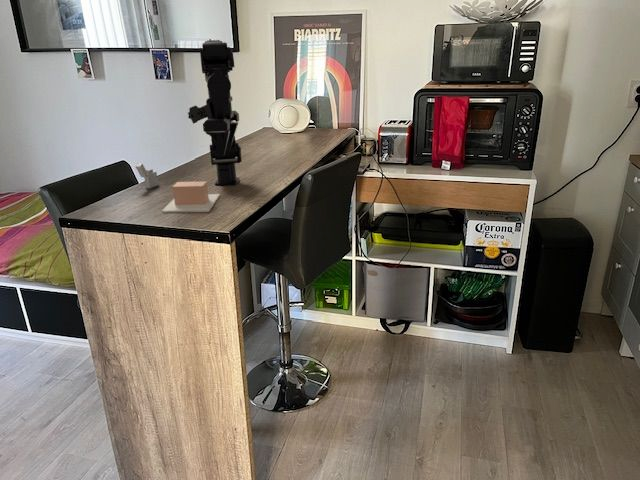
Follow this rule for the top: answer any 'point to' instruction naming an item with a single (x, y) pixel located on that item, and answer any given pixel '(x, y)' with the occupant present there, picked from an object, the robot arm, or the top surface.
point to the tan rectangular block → (190, 193)
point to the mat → (192, 206)
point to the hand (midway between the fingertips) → (225, 152)
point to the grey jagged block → (147, 176)
